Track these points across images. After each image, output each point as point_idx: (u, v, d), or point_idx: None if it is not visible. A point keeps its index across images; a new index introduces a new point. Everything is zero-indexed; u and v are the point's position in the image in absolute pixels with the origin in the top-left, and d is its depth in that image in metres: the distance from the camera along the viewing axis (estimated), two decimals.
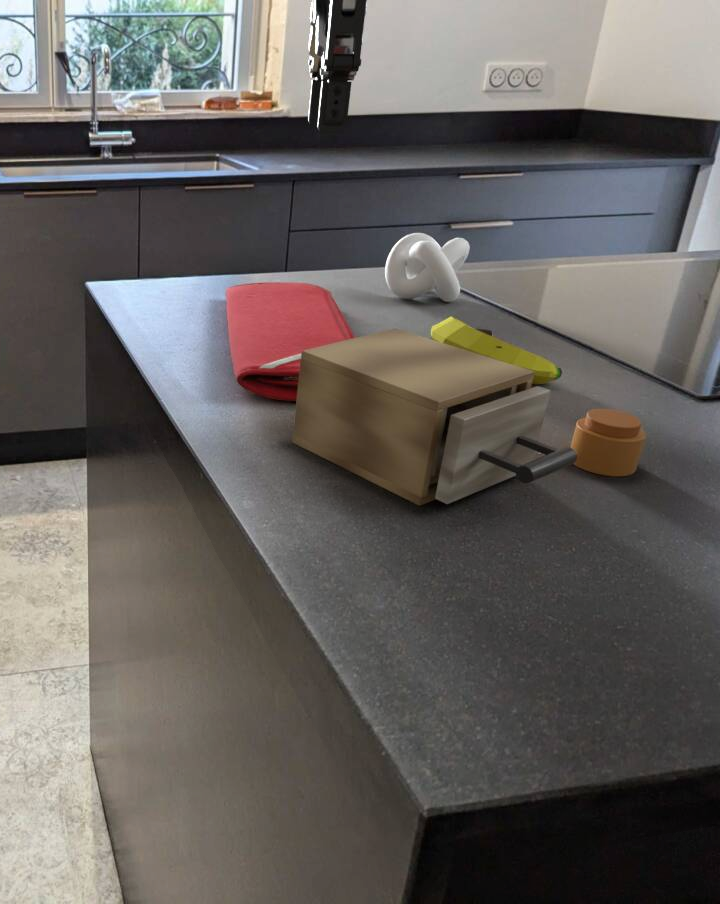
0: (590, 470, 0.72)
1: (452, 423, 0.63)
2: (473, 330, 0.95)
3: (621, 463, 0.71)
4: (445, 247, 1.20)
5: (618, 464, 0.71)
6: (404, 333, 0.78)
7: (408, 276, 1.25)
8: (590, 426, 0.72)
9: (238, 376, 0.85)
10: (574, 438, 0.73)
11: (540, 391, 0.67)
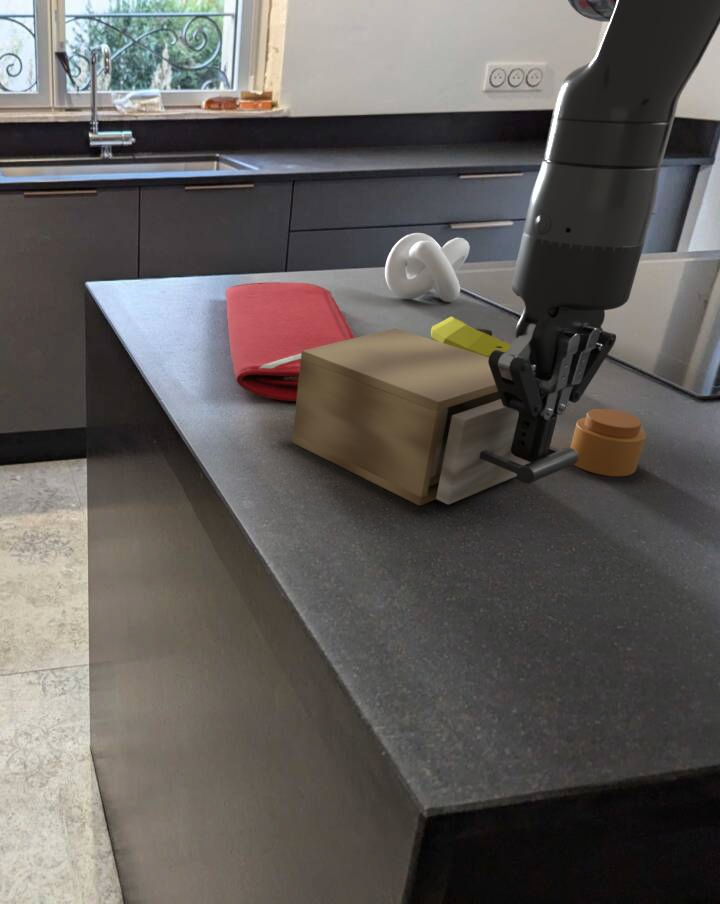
0: (590, 470, 0.72)
1: (453, 423, 0.63)
2: (473, 330, 0.95)
3: (621, 463, 0.71)
4: (445, 247, 1.20)
5: (618, 464, 0.71)
6: (404, 333, 0.78)
7: (408, 276, 1.25)
8: (590, 426, 0.72)
9: (238, 376, 0.85)
10: (574, 438, 0.73)
11: None
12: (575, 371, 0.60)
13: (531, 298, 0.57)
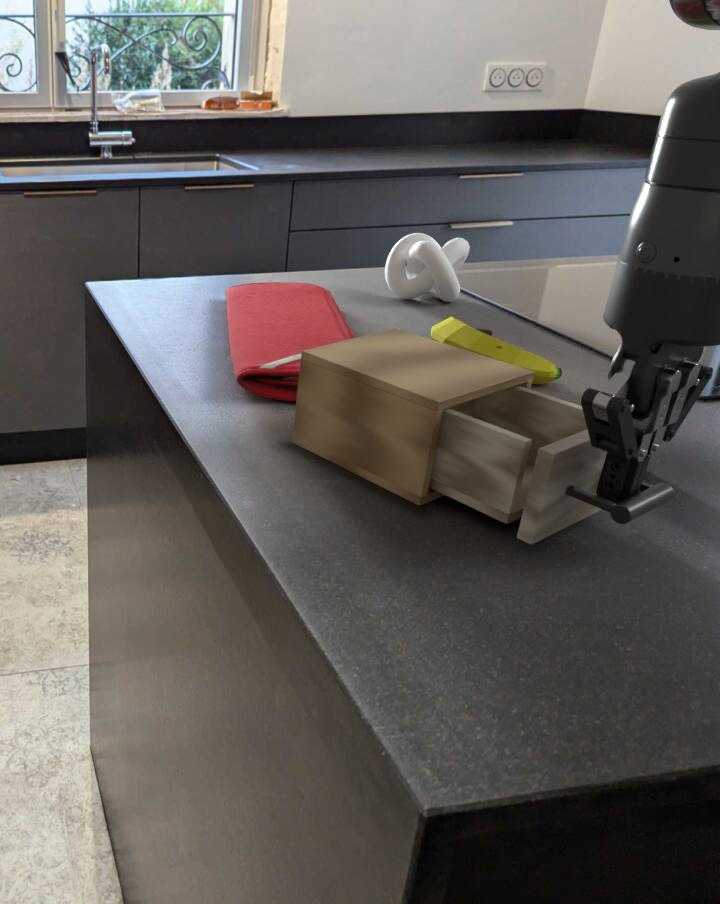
0: None
1: (540, 457, 0.57)
2: (473, 330, 0.95)
3: None
4: (445, 247, 1.20)
5: None
6: (404, 333, 0.78)
7: (408, 276, 1.25)
8: None
9: (238, 376, 0.85)
10: None
11: None
12: (673, 409, 0.55)
13: (630, 332, 0.52)
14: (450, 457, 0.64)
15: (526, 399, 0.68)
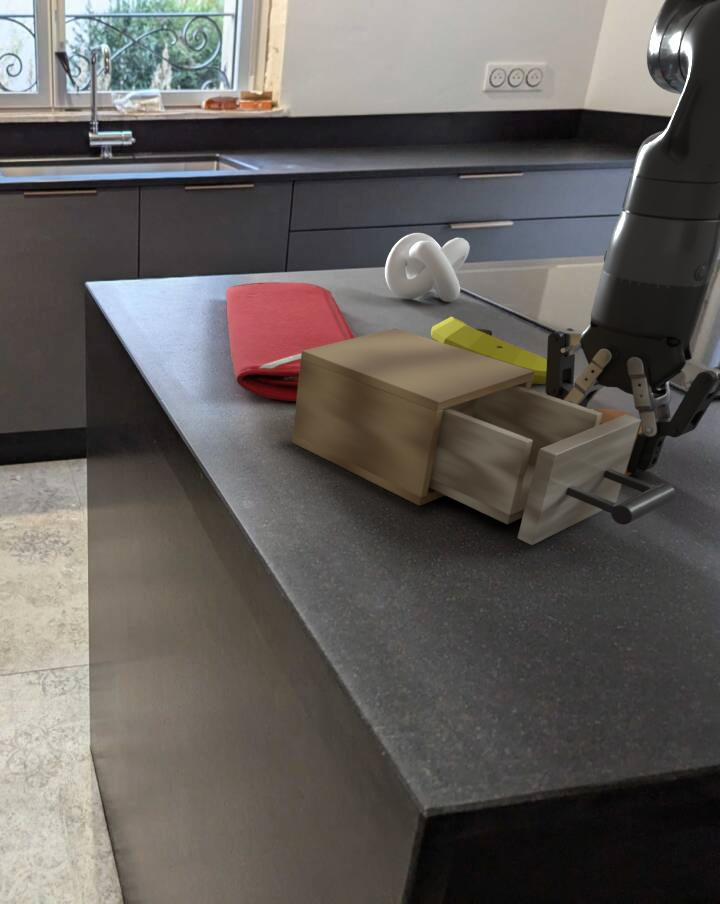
0: None
1: (541, 458, 0.57)
2: (473, 330, 0.95)
3: None
4: (445, 247, 1.20)
5: None
6: (404, 333, 0.78)
7: (408, 276, 1.25)
8: None
9: (238, 376, 0.85)
10: None
11: (630, 420, 0.62)
12: None
13: (685, 334, 0.65)
14: (451, 457, 0.64)
15: (527, 399, 0.68)
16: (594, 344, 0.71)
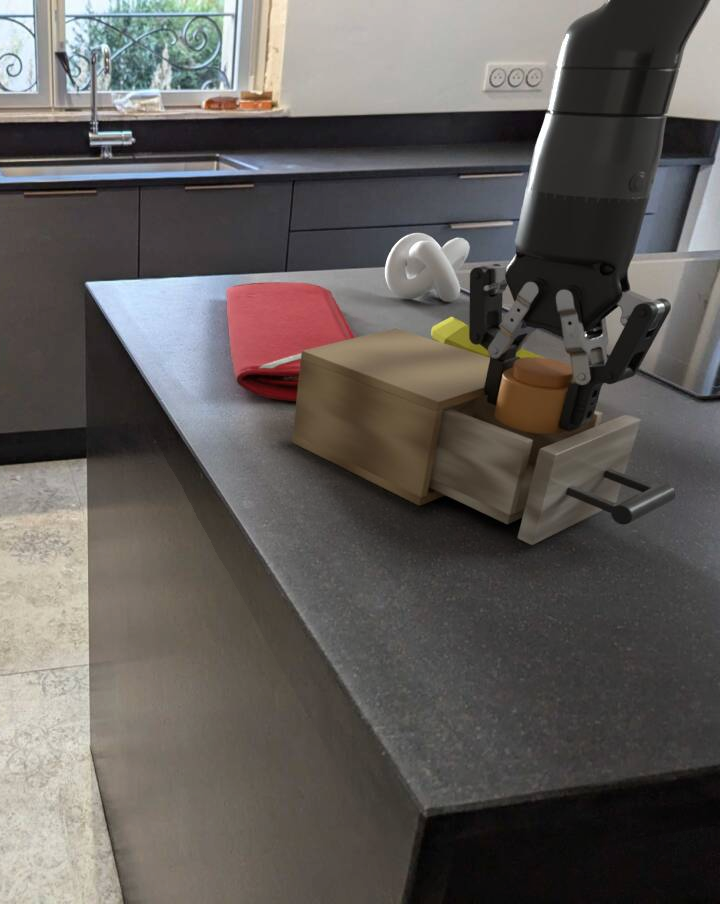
0: (517, 427, 0.62)
1: (541, 458, 0.57)
2: None
3: (551, 419, 0.60)
4: (445, 247, 1.20)
5: (549, 420, 0.60)
6: (404, 333, 0.78)
7: (408, 276, 1.25)
8: (517, 376, 0.61)
9: (238, 376, 0.86)
10: (500, 391, 0.63)
11: (630, 420, 0.62)
12: None
13: (621, 260, 0.55)
14: (451, 457, 0.64)
15: None
16: (520, 277, 0.60)
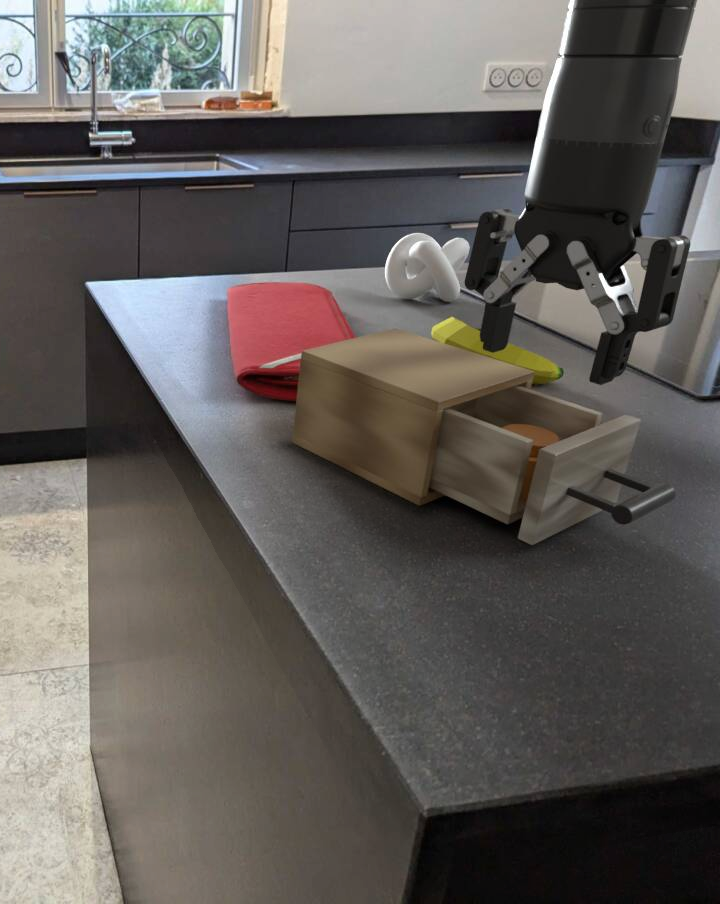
0: None
1: (541, 458, 0.57)
2: (474, 330, 0.95)
3: None
4: (445, 247, 1.20)
5: None
6: (404, 333, 0.78)
7: (408, 276, 1.25)
8: None
9: (238, 376, 0.86)
10: None
11: (630, 420, 0.62)
12: None
13: (635, 208, 0.53)
14: (451, 457, 0.64)
15: (527, 399, 0.68)
16: (530, 231, 0.59)
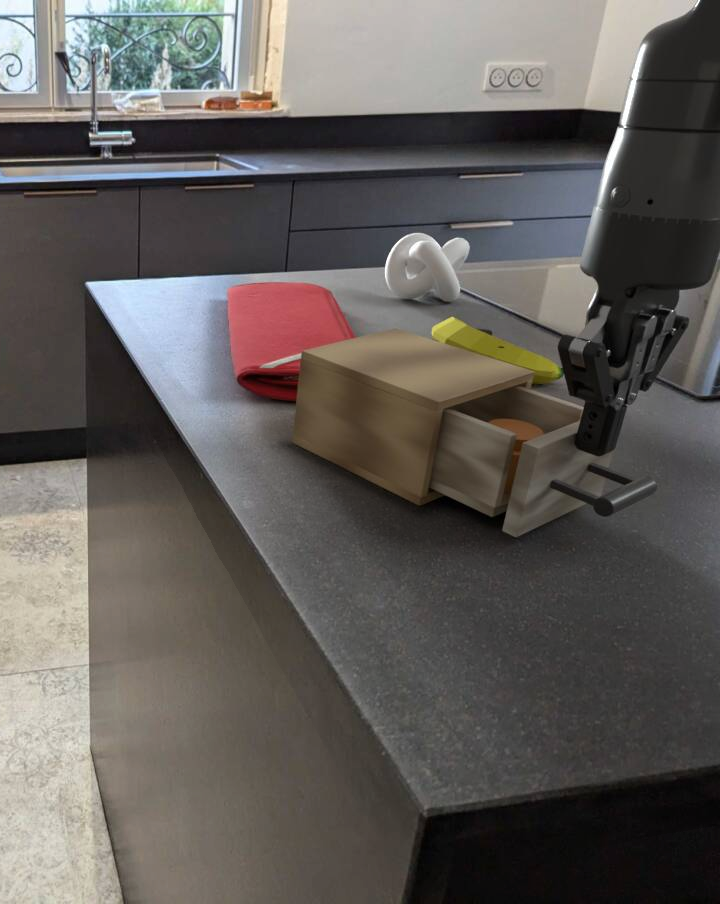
0: None
1: (524, 451, 0.58)
2: (475, 330, 0.95)
3: None
4: (445, 247, 1.20)
5: None
6: (404, 333, 0.78)
7: (408, 276, 1.25)
8: None
9: (238, 376, 0.86)
10: None
11: None
12: (649, 357, 0.55)
13: (605, 277, 0.53)
14: (437, 452, 0.65)
15: (513, 395, 0.69)
16: None
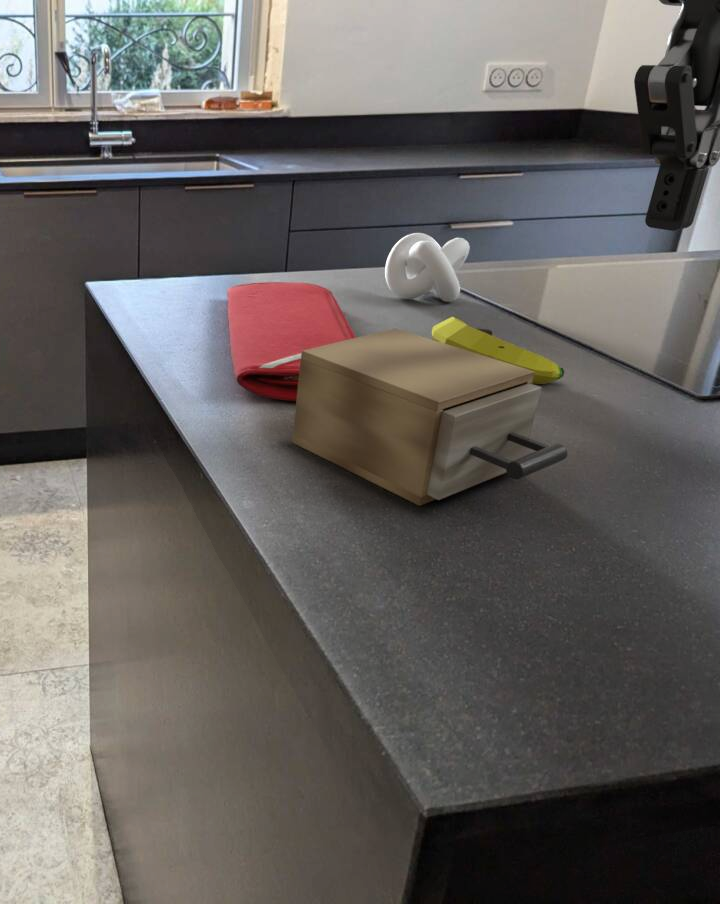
0: None
1: (443, 419, 0.63)
2: (475, 330, 0.95)
3: None
4: (445, 247, 1.20)
5: None
6: (404, 333, 0.78)
7: (408, 276, 1.25)
8: None
9: (238, 376, 0.86)
10: None
11: (531, 388, 0.68)
12: None
13: None
14: None
15: None
16: None
